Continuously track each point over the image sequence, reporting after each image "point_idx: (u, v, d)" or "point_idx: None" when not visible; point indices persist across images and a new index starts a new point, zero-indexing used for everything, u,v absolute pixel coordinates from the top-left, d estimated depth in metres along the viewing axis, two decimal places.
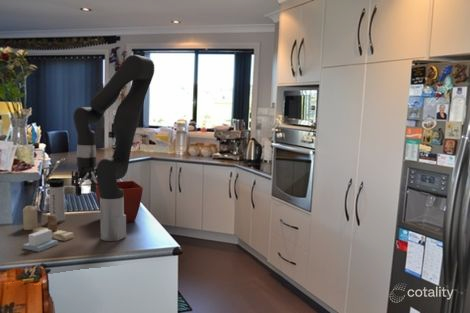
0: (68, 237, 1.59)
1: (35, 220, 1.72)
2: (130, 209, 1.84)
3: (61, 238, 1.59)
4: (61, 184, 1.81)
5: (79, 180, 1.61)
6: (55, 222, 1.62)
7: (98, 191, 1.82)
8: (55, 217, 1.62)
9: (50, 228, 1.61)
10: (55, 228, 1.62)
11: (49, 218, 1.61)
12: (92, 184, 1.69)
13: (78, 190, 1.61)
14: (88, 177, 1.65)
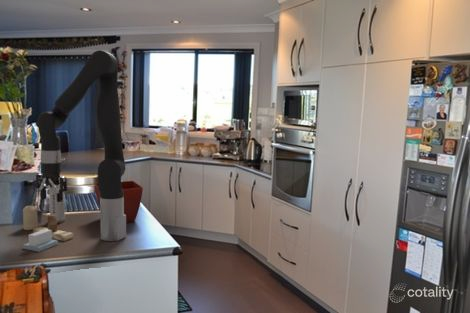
0: (67, 237, 1.59)
1: (35, 220, 1.72)
2: (130, 209, 1.84)
3: (60, 238, 1.59)
4: None
5: (59, 186, 1.60)
6: (55, 222, 1.62)
7: (98, 191, 1.82)
8: (55, 217, 1.62)
9: (50, 228, 1.61)
10: (55, 228, 1.62)
11: (49, 218, 1.61)
12: (43, 191, 1.62)
13: None
14: None
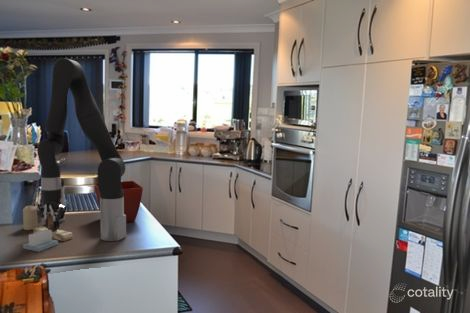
0: (66, 236, 1.59)
1: (35, 220, 1.72)
2: (130, 209, 1.84)
3: (60, 238, 1.59)
4: (61, 184, 1.81)
5: (57, 214, 1.61)
6: None
7: (98, 191, 1.82)
8: None
9: (50, 227, 1.61)
10: None
11: (49, 217, 1.61)
12: None
13: None
14: None
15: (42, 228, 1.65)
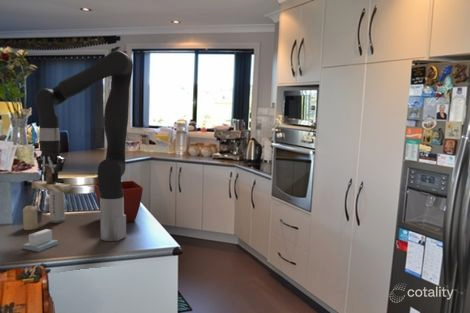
0: (65, 188, 1.56)
1: (35, 220, 1.72)
2: (130, 209, 1.84)
3: (59, 189, 1.56)
4: None
5: (56, 166, 1.59)
6: None
7: (98, 191, 1.82)
8: None
9: (48, 180, 1.59)
10: None
11: (47, 169, 1.58)
12: None
13: None
14: None
15: (41, 182, 1.63)
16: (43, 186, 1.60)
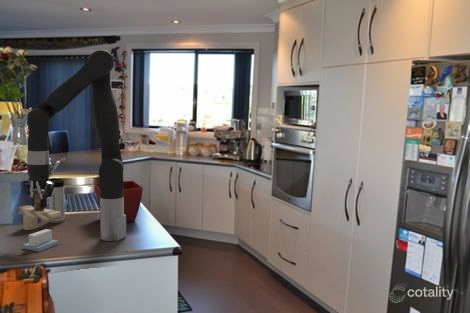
0: (54, 216, 1.45)
1: (35, 220, 1.72)
2: (130, 209, 1.84)
3: (47, 217, 1.45)
4: (61, 184, 1.81)
5: (44, 191, 1.48)
6: None
7: (98, 191, 1.82)
8: None
9: (36, 206, 1.48)
10: None
11: (35, 195, 1.47)
12: None
13: None
14: None
15: (28, 207, 1.52)
16: (31, 212, 1.49)
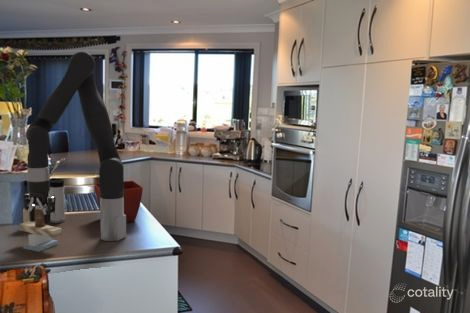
0: (55, 232, 1.46)
1: None
2: (130, 209, 1.84)
3: (48, 234, 1.46)
4: (61, 184, 1.81)
5: (47, 206, 1.48)
6: (42, 216, 1.49)
7: (98, 191, 1.82)
8: (42, 211, 1.49)
9: (37, 223, 1.48)
10: (42, 223, 1.49)
11: (36, 212, 1.48)
12: (33, 212, 1.51)
13: None
14: None
15: (29, 223, 1.52)
16: (32, 229, 1.49)
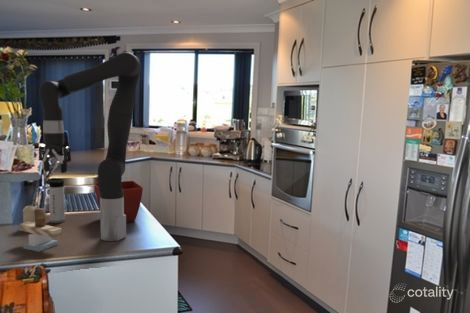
0: (55, 232, 1.46)
1: None
2: (130, 209, 1.84)
3: (48, 234, 1.46)
4: (61, 184, 1.81)
5: (63, 157, 1.58)
6: (42, 216, 1.49)
7: (98, 191, 1.82)
8: (42, 211, 1.49)
9: (37, 223, 1.48)
10: (42, 223, 1.49)
11: (36, 212, 1.48)
12: (47, 163, 1.60)
13: None
14: None
15: (29, 223, 1.52)
16: (32, 229, 1.49)
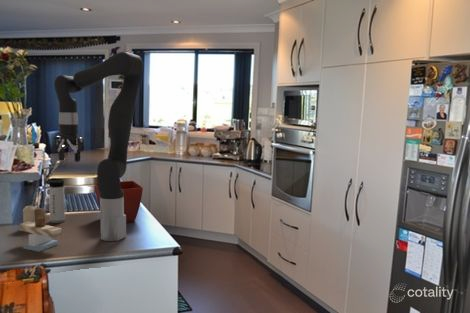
0: (55, 232, 1.46)
1: None
2: (130, 209, 1.84)
3: (48, 234, 1.46)
4: (61, 184, 1.81)
5: (76, 146, 1.68)
6: (42, 216, 1.49)
7: (98, 191, 1.82)
8: (42, 211, 1.49)
9: (37, 223, 1.48)
10: (42, 223, 1.49)
11: (36, 212, 1.48)
12: (61, 152, 1.71)
13: None
14: None
15: (29, 223, 1.52)
16: (32, 229, 1.49)
